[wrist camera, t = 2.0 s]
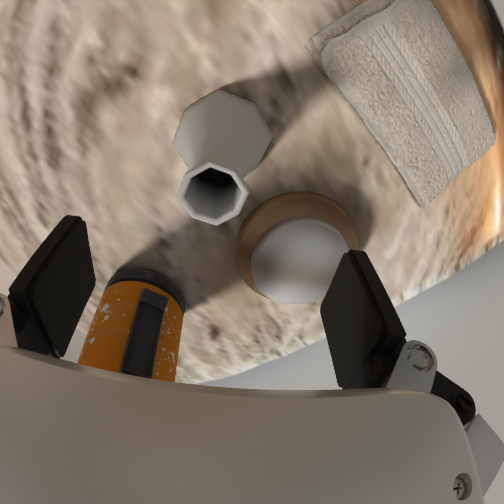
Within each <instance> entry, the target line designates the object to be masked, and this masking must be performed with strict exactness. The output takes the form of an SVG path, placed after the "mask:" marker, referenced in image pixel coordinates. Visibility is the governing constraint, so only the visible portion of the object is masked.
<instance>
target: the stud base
mask: <svg viewBox="0 0 504 504" xmlns="http://www.w3.org/2000/svg"><path fill="white" fill-rule="evenodd" d="M351 249H352V250H359V240H358V236H357V233H356V230H355V228H354V226H353V224H352V223H351V221H350V219H349V218H348V216H347V214H346V213H345V211H344V210H343V209H342V208H341V207H340V206H339V205H338V204H337V203H335V202H334V201H333V200H331V199H329V198H327V197H325V196H322V195H320V194H316V193H310V192H292V193H286V194H282V195H278V196H276V197H273V198H271V199H269V200H267V201H265V202H264V203H262V204H261V205H259V206H258V207H257V208H255V209H254V210H253V211H252V212H251V213H250V214H249V216H248V217H247V218H246V219H245V221H244V223H243V224H242V226H241V229H240V231H239V234H238V238H237V265H238V269H239V272H240V275H241V277H242V278H243V280H244V282H245V283H246V284H247V285H248V286H249V287H250V288H251V289H252V290H253V291H255V292H256V293H258V294H260V295H262V296H264V297H266V298H269V299H272V300H274V301H277V302H280V303H285V304H304V303H309V302H313V301H316V300H319V299H321V298H323V297H325V295H326V293H327V291H328V288H329V286H330V284H331V281H332V279H333V277H334V274H335V272H336V270H337V267H338V265H339V263H340V260H341V258H342V256H343V254H344V253H347V252H348V251H349V250H351Z"/></svg>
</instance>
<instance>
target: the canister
mask: <svg viewBox="0 0 504 504" xmlns="http://www.w3.org/2000/svg"><path fill="white" fill-rule="evenodd" d="M184 309H185V303H184V298H183V296H182V294H181V292H180V291H179V289H178V288H177V287H176V286H175V285H174V284H173V283H172V282H170V281H169V280H167V279H166V278H164V277H163V276H161V275H159V274H156V273H153V272H150V271H146V270H140V269H130V270H124V271H121V272H119V273H117V274H115V275H114V276H112V277H111V279H110V280H109V282H108V284H107V286H106V288H105V291H104V293H103V295H102V298H101V300H100V303H99V305H98V308H97V310H96V313H95V315H94V318H93V320H92V323H91V326H90V328H89V331H88V334H87V337H86V339H85V342H84V345H83V348H82V351H81V354H80V357H79V360H78V363H77V364H81V365H85V366H89V367H94V368H98V369H103V370H107V371H112V372H117V373H122V374H127V375H133V376H139V377H145V378H151V379H157V380H164V381H171V382H175V375H176V366H177V358H178V351H179V343H180V336H181V329H182V322H183V316H184Z"/></svg>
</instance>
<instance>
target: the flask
mask: <svg viewBox="0 0 504 504" xmlns="http://www.w3.org/2000/svg"><path fill="white" fill-rule="evenodd" d="M273 136H274V135H273V133H272V132H271V130H270V128H269V126H268V125H267V123H266V121H265V119H264V118H263V116H262V114H261V112H260V111H259V109H258V107H257V106H256V104H255V103H253V102H250V101H248V100H246V99H243V98H241V97H238V96H235V95H233V94H230V93H228V92H225V91H222V90H220V89H218V90H216V91H214V92H213V93H211V94H209V95H208V96H206V97H204V98H202V99H201V100H199V101H197V102H196V103H194V104H193V105H191V106H189V107H188V108H186V109H185V110H184V113H183V116H182V118H181V121H180V123H179V126H178V129H177V132H176V134H175V137H174V140H173V145H174V147H175V148H176V150H177V151H178V152H179V154H180V155H181V157H182V159H183V160H184V162H185V164H186V166H187V167H188V171H187V172H186V173H185V176H184V178H183V181H182V184H181V187H180V190H179V192H178V195H177V199H178V200H179V201H180V203H181V204H182V205H183V206H184V208H185V209H186V210H187V212H188V213H189V214H190V216H191V217H192V218H195V219H198V220H201V221H204V222H207V223H210V224H212V225H215V226H217V225H219V224H221V223H223V222H225V221H227V220H229V219H231V218H233V217H235V216H237V215H239V213H240V211H241V209H242V207H243V205H244V203H245V201H246V199H247V197H248V195H249V193H250V189H249V188H248V186H247V185H246V183H245V181H244V180H243V178H244V177H245V176H246V175H247V174H249V173H250V172H252V171H253V170H255V169H256V168H257V167H258V165H259V163H260V161H261V159H262V157H263V155H264V153H265V151H266V150H267V148H268V146H269V144H270V142H271V140H272V138H273Z"/></svg>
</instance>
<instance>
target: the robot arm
mask: <svg viewBox="0 0 504 504" xmlns="http://www.w3.org/2000/svg"><path fill="white" fill-rule="evenodd" d="M95 282H96V279H95V274H94V269H93V263H92V258H91V252H90V247H89V240H88V234H87V227H86V223H85V221H82V218H81V217H80V216H71V215H66V216H65V217H64V218H63V219H62V220H61V221H60V222H59V224H58V225H57V226H56V227H55V228H54V229H53V231H52V232H51V233H50V234H49V235H48V237H47V238H46V239H45V240H44V242H43V243H42V244H41V245H40V247H39V248H38V249H37V250H36V252H35V253H34V254H33V256H32V257H31V258H30V260H29V261H28V262H27V264H26V265H25V266H24V268H23V269H22V271H21V272H20V273H19V275H18V276H17V278H16V279H15V281H14V282H13V283H12V285H11V286H10V288H9V292H10V294H9V295H8V297H6V296H5V295H3V294H1V293H0V504H484V499H483V496H484V495H485V493H486V492H487V490H488V488H489V486H490V485H491V483H492V481H493V480H494V478H495V476H496V474H497V472H498V471H499V469H500V467H501V465H502V463H503V461H504V444H503V442H502V441H501V439H500V438H499V437H498V436H497V435H496V433H495V432H494V431H493V430H492V429H491V427H490V426H489V425H488V424H487V423H486V421H485V420H484V419H483V418H482V417H481V415H480V414H477V415H475V410H476V409H475V403H474V401H473V398H472V397H471V396H470V394H469V393H468V392H467V391H465V390H464V389H462V388H461V387H460V386H458V385H457V384H455V383H454V382H452V381H451V380H449V379H448V378H447V377H445V376H444V375H442V374H441V373H439V372H438V371H437V370H436V369H437V359H436V356H435V354H434V352H433V351H432V350H431V349H430V348H429V347H428V346H427V345H426V344H424V343H422V342H420V341H415V340H412V341H408V342H406V339H405V336H406V332H405V330H404V328H403V326H402V323H401V322H400V319H399V317H398V315H397V313H396V311H395V309H394V306H393V304H392V302H391V300H390V298H389V296H388V294H387V292H386V290H385V288H384V286H383V284H382V282H381V280H380V278H379V276H378V275H377V273H376V271H375V269H374V267H373V265H372V263H371V261H370V259H369V258H368V256H367V254H366V252H364V251H359V250H352V249H351V250H349V251H348V252H347V253H344V254H343V256H342V258H341V260H340V263H339V265H338V267H337V270H336V272H335V274H334V277H333V279H332V281H331V284H330V286H329V288H328V291H327V293H326V295H325V297H324V299H323V302H322V304H321V308H320V313H321V317H322V321H323V325H324V329H325V333H326V337H327V341H328V345H329V349H330V353H331V357H332V361H333V366H334V370H335V374H336V378H337V383H338V385H339V387H342V389H343V390H260V389H239V388H226V387H214V386H204V385H195V384H186V383H178V382H171V381H164V380H157V379H151V378H145V377H139V376H133V375H127V374H122V373H117V372H112V371H107V370H103V369H98V368H94V367H89V366H85V365H81V364H77V363H73V362H69V361H65V360H61V359H60V357H63V356H64V355H65V353H66V350H67V348H68V345H69V343H70V340H71V338H72V335H73V333H74V331H75V328H76V326H77V324H78V322H79V319H80V317H81V315H82V313H83V310H84V308H85V306H86V304H87V302H88V300H89V298H90V295H91V293H92V291H93V289H94V287H95Z"/></svg>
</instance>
